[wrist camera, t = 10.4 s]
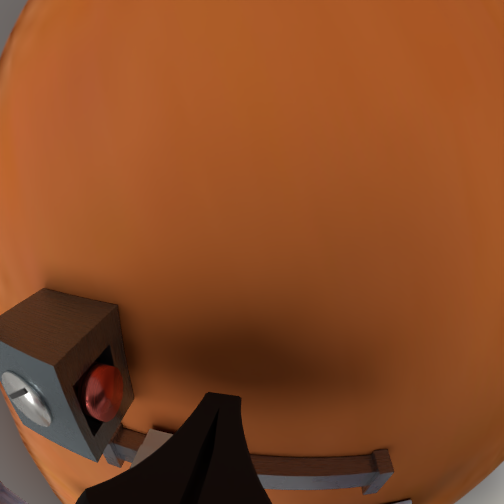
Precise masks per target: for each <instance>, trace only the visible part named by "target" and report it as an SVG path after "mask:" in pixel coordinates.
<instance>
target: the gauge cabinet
mask: <svg viewBox="0 0 504 504" xmlns="http://www.w3.org/2000/svg"><path fill="white" fill-rule="evenodd" d="M94 361H96V362H100V363H103V364H106V365H110V366H113V367H116V368H118V369H119V371H120V373H121V375H122V379H123V395H122V401H121V404H120V407H119V410H118V412H117V414H116V415H115V417H114V418H113V419H112V420H110V421H108V422H104V421H101V420H98V419H95V418H93V417H90V416H88V415H85V414H83V412H82V409H81V407H80V405H79V402H78V400H77V397H76V394H75V392H74V389H73V386H74V384H75V383H76V382H77V381H78V380H79V379H80V377H81V376H82V375H83V374H84V373H85V372H86V370H87V369H88V368H89V367H90V366H91V365H92V363H93V362H94ZM0 381H1V383H2V385H3V387H4V389H5V391H6V393H7V395H8V397H9V399H10V401H11V403H12V405H13V407H14V409H15V410H16V412H17V414H18V416H19V418H20V419H21V421H22V423H23V424H24V425H25V426H27V427H28V428H30V429H32V430H33V431H35V432H37V433H38V434H40V435H42V436H44V437H45V438H47V439H49V440H51V441H53V442H55V443H57V444H58V445H60V446H62V447H64V448H66V449H68V450H70V451H72V452H75V453H77V454H79V455H81V456H83V457H85V458H88V459H90V460H92V461H95V462H97V463H98V461H99V459H100V457H101V455H102V454H103V452H104V450H105V448H106V447H107V445H108V443H109V441H110V440H111V438H112V436H113V434H114V433H115V431H116V429H117V427H118V426H119V424H120V422H121V420H122V419H123V417H124V415H125V413H126V412H127V410H128V408H129V407H130V405H131V403H132V401H133V400H134V395H133V391H132V386H131V382H130V377H129V372H128V367H127V362H126V357H125V351H124V346H123V340H122V333H121V327H120V320H119V312H118V305H115V304H110V303H105V302H101V301H96V300H91V299H87V298H82V297H78V296H73V295H69V294H65V293H61V292H57V291H53V290H49V289H45V288H43V289H41V290H40V291H38V292H36V293H35V294H33V295H32V296H30V297H28V298H27V299H25V300H24V301H22V302H20V303H19V304H17V305H16V306H14V307H13V308H11V309H9V310H8V311H6V312H5V313H3V314H2V315H0Z"/></svg>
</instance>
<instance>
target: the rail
mask: <svg viewBox="0 0 504 504" xmlns="http://www.w3.org/2000/svg"><path fill="white" fill-rule="evenodd" d="M145 438H146V435H145V434H141V433H138V432H134V431H131V430H128V429H125V428H123V426H122V423H120V424H119V426H118V427H117V429H116V431H115V433H114V434H113V436H112V438H111V440H110V441H109V443H108V445H107V447H106V448H105V450H104V452H103V455H104V456H105V458H106V460H107V462H108V463H109V464H111V465H114V466H117V467H119V468H121V467H122V465H123V463H124V461H128V462H131V463H132V462H133V460H134V458H135V456H136V454H137V451H138V449H139V447H140V445H141V444H143V442H144V440H145ZM250 457H251V460H252V463H253V465H254V468H255V470H256V473H257V475H258V477H259V480H260V482H261V484H262V486H263V488H264V489H281V490H321V489H339V488H351V487H362V493H363V495H365V494H372V493H377V492H378V490H379V489H380V488H381V487H382V486H383V485H384V484H385V482H386V481H387V480H388V479H389V478H390V476H391V475H392V474H393V473H394V469H393V465H392V462H391V459H390V455H389V452H388V449H383V450H374V451H373V453H372V454H371V455H363V456H350V457H329V458H294V457H273V456H259V455H250Z"/></svg>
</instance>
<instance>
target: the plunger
mask: <svg viewBox="0 0 504 504" xmlns="http://www.w3.org/2000/svg"><path fill="white" fill-rule="evenodd" d="M73 389H74V392H75V394H76V397H77V400H78V402H79V405H80V407H81V409H82V412H83V414H85V415H88V416H90V417H93V418H95V419H98V420H101V421H104V422H108V421H110V420H112V419H113V418H114V417H115V415H116V414H117V412H118V410H119V407H120V404H121V401H122V395H123V379H122V375H121V373H120V371H119V369H118V368H116V367H113V366H110V365H106V364H103V363H100V362H96V361H94V362H93V363H92V365H91V366H90V367H89V368H88V369H87V370H86V372H85V373H84V374H83V375H82V376H81V377H80V379H79V380H78V381H77V382H76V383H75V384H74V386H73Z"/></svg>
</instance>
